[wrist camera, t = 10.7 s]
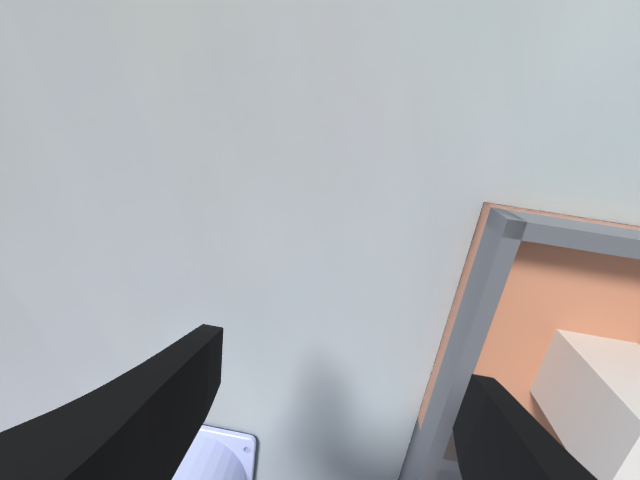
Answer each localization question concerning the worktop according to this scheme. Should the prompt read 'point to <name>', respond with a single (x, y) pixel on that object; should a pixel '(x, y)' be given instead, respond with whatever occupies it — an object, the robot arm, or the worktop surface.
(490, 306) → the tray
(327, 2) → the worktop surface
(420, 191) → the worktop surface
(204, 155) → the worktop surface
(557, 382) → the white rectangular block
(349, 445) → the worktop surface
